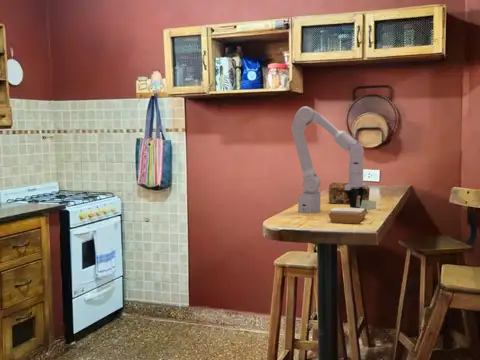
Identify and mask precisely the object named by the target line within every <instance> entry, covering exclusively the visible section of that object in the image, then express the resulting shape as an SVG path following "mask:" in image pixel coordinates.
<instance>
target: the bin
mask: <svg viewBox="0 0 480 360" xmlns="http://www.w3.org/2000/svg"><path fill="white" fill-rule="evenodd" d="M349 208H351V207H350V206H349ZM360 208H362V209H367V211H370V210H374V209H376V208H377V201H376V200H370V199H369V200H362V203H361V206H360Z"/></svg>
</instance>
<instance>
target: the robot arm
mask: <svg viewBox="0 0 480 360" xmlns="http://www.w3.org/2000/svg"><path fill="white" fill-rule="evenodd" d="M311 123H313V124H317V125H319V126H321V128H323V129H324V130H325V131H327V132H328V133H329V134H330V135H332V137H333V141H334V142H335V143H336V144H337V145H338V146H339V147H340V148H341V149H343V150H344V151H346V152H348V154H349V162H348V183H349V184H347V185H345V192H346V194H347V196H348V199H349V203H350V204H349V208H350V207H356V203H357V196H358V195H360V206H361V203H362V199H363V196H364V194H365V192H366V189H363V188H366V185H367V182H364V153H365V150H364V149H365V148H364V146H362V144H361V143H358V142H359V141H358V140H357V139H354V137H352V136H351V135H350V133H349V132H348V131H345V130H339V129H337V127H336V126H334V125H333V124H332V123H331V122H330V121H329V120H328V119H327V118H326V117H325V116H324V115H322V114H321V113H320V112H317V111H316V110H314V109H313V108H312V107H309V106H307V105H306V106H302V107H300V108H299V109H298V110H297V112H296V113H295V115H294V120H293V122H292V125H291V129H290V130H291V134H292V137H293V141H294V144H295V149H296V152H297V156H298V160H299V162H300V167H301V171H302V177H303V181H302V186H303V189H304V190H302V193H301V194H300V195H299V197H298V198H297V199H298V200H297V201H298V203H297V204H298V205H297V206H298V208H297V212H298V213H305V214H314V213H320V212H321V190H320V189H319V187H320V186H321V179H320V177H318V176H317V173H316V170H315V168H314V164H313V160H312V157H311V153H310V149H309V146H308V143H307V139H306V135H305V130H306V128H307V127H308V125H309V124H311Z"/></svg>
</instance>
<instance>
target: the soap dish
mask: <svg viewBox="0 0 480 360" xmlns="http://www.w3.org/2000/svg"><path fill="white" fill-rule="evenodd" d="M364 210H365V209H362V208H350V207H333V208H331V209H330V212H329V213H328V218H329V219H330V221H331V223H340V224H355V225H359V224H361V223H362V221H363V220H365V218H366V215H367V214H368V213H367V212H368V211H367V212H364ZM366 213H367V214H366Z"/></svg>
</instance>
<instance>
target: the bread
mask: <svg viewBox="0 0 480 360" xmlns="http://www.w3.org/2000/svg"><path fill="white" fill-rule="evenodd" d="M347 184H349V182H332V183H330V184H329V186H328V202H329V204H338V205H350V203H349V199H348V196H347V194H346V192H345V185H347ZM363 189H366V192H365V194H364V196H363V199H362V200H370V191H371V190H370V186H368V185H367V184H366V188H363Z"/></svg>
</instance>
